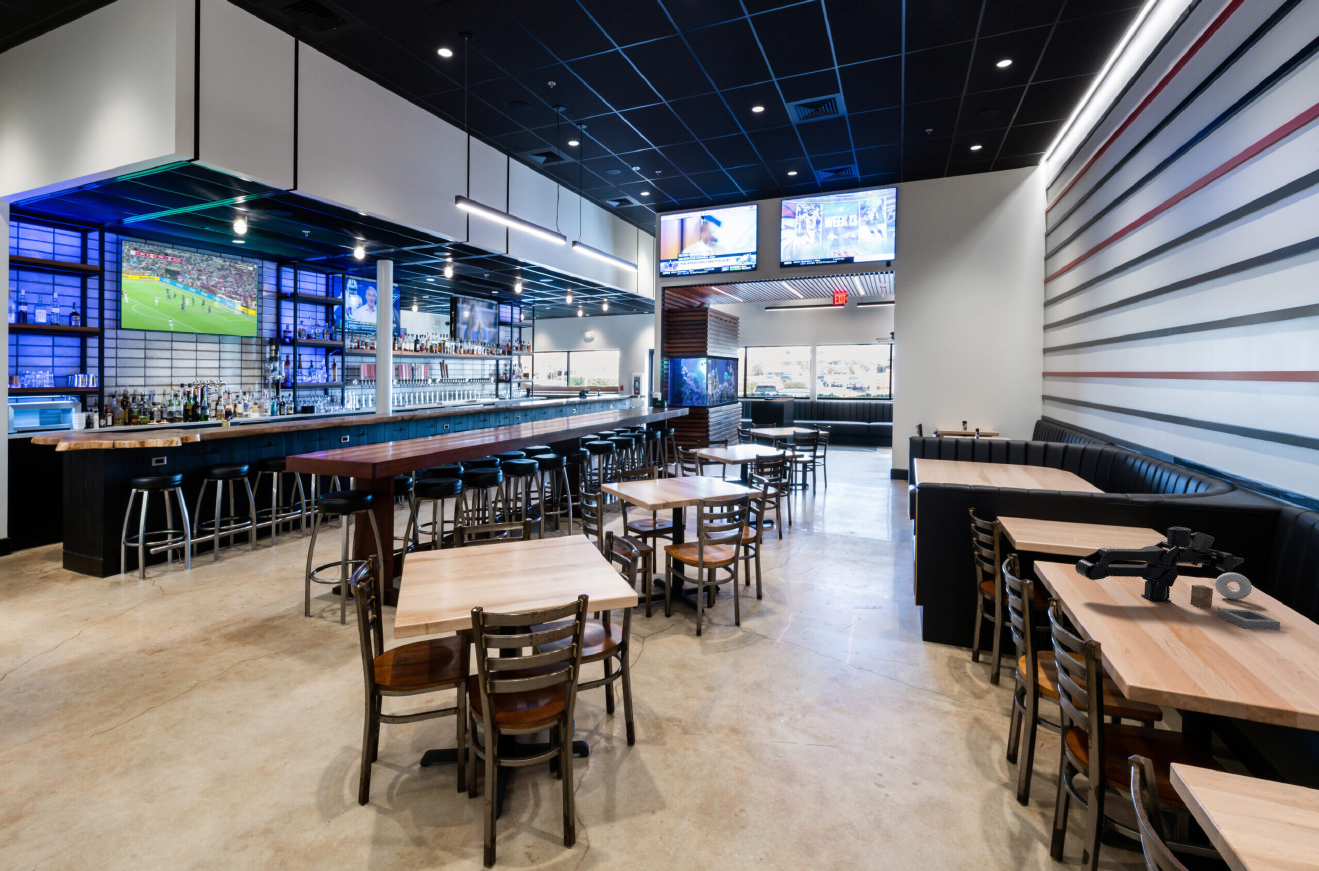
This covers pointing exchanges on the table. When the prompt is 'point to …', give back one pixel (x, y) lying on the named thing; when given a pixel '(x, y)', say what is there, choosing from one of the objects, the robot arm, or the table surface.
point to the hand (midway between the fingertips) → (1232, 556)
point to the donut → (1233, 594)
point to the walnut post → (1201, 596)
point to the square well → (1248, 619)
